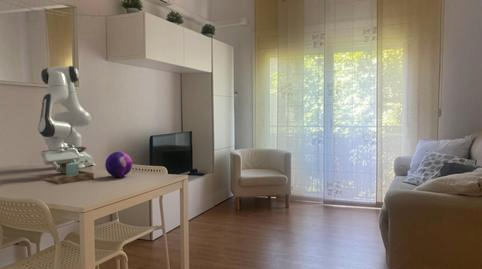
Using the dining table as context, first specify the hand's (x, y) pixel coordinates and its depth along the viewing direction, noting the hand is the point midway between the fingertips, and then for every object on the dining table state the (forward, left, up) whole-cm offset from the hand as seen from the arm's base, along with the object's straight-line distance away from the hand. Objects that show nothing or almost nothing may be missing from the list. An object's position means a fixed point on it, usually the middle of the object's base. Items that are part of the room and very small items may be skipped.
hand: (66, 167), depth 211 cm
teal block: (+1, +8, -5) cm, 9 cm away
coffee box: (-6, -14, -5) cm, 16 cm away
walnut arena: (+2, +7, -6) cm, 9 cm away
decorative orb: (-21, +20, -6) cm, 30 cm away
